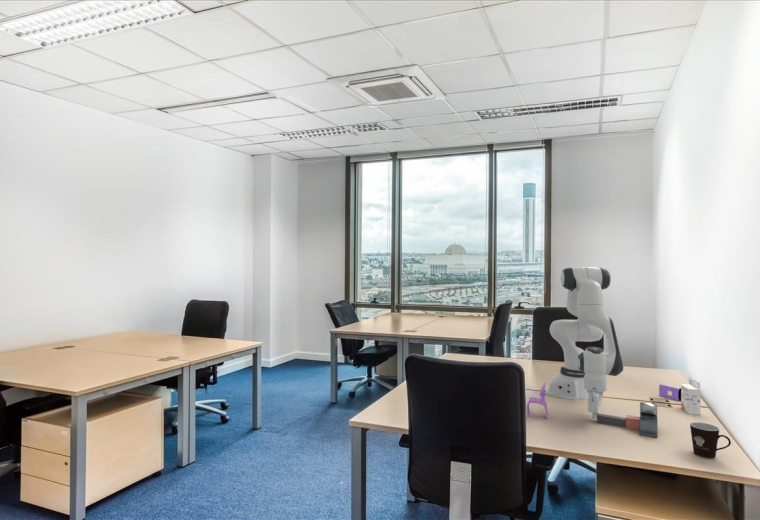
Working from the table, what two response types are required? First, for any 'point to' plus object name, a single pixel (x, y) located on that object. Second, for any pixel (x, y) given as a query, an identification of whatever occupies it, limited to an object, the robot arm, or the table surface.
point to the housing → (648, 420)
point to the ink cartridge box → (691, 398)
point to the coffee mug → (705, 439)
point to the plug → (620, 421)
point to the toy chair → (539, 401)
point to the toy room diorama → (673, 395)
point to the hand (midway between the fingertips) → (595, 417)
